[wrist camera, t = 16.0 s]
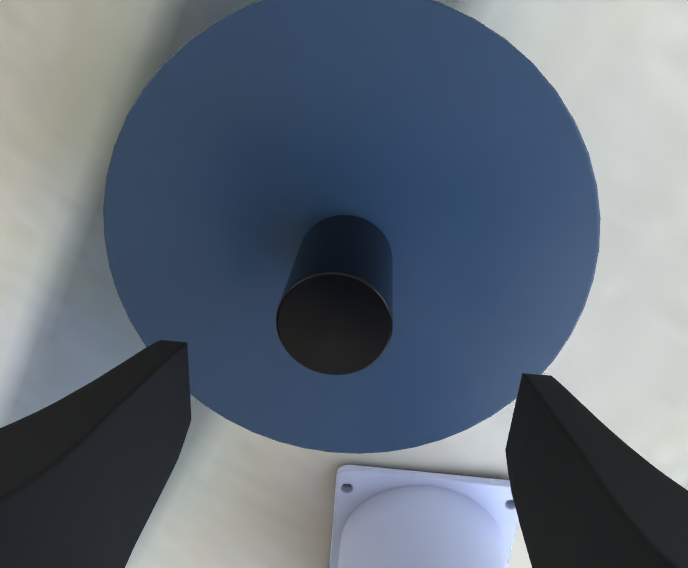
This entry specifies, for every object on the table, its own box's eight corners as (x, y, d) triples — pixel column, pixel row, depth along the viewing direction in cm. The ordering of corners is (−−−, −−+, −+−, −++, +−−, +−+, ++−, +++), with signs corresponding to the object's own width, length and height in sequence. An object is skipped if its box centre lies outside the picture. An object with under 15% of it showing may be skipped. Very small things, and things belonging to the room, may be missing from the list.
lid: (536, 449, 19) (577, 576, 15) (137, 411, 20) (68, 524, 16) (645, 6, 14) (756, 11, 10) (96, -33, 14) (-27, -44, 10)
